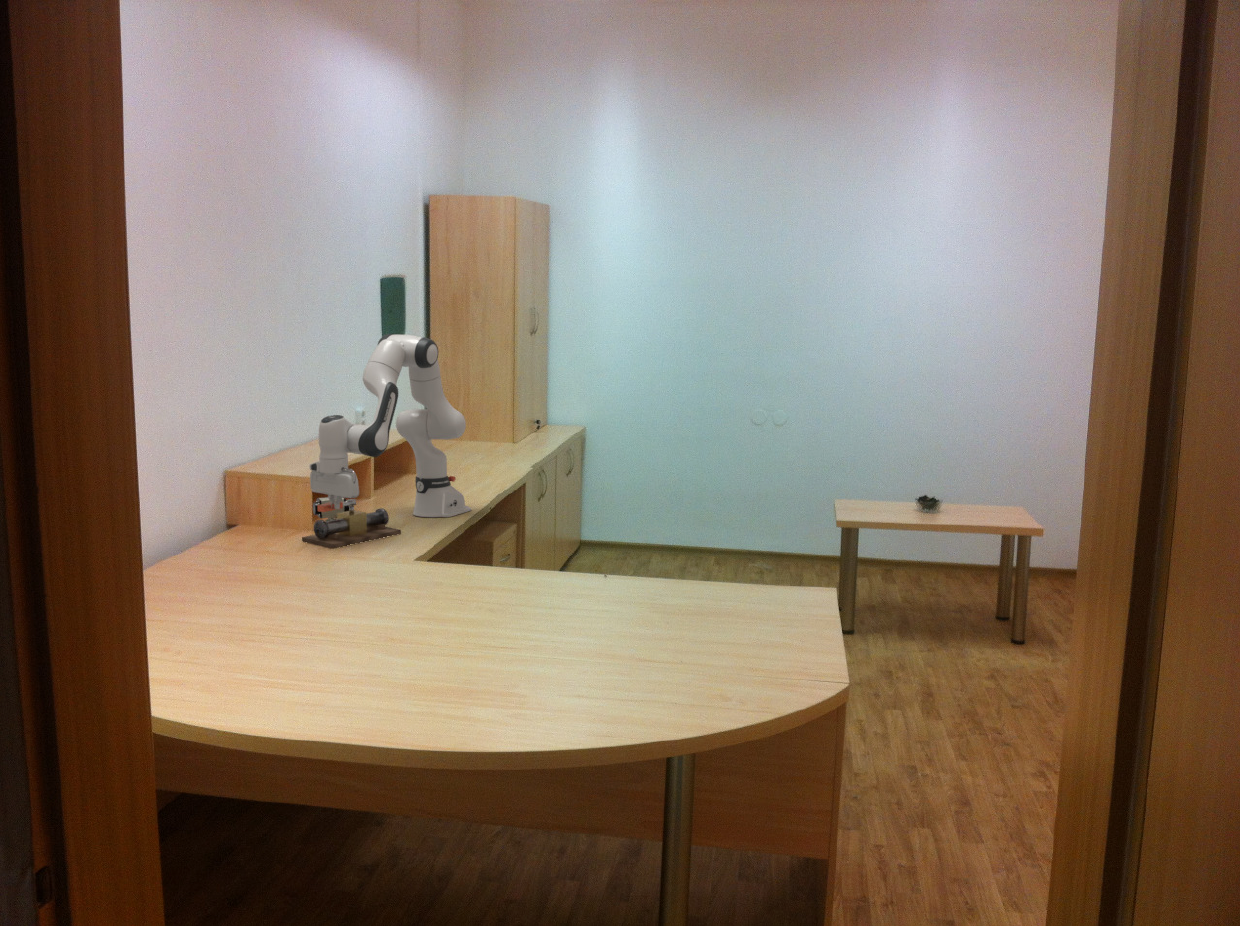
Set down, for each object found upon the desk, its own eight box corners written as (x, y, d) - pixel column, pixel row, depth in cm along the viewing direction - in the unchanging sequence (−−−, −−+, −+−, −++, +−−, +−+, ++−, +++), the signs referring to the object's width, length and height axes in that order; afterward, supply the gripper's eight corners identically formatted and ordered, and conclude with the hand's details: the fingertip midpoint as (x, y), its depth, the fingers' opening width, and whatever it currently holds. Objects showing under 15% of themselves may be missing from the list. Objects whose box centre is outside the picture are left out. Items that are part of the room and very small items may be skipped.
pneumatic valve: (350, 529, 356) (349, 495, 355) (316, 532, 351) (315, 497, 349) (347, 526, 361) (346, 492, 360) (313, 529, 356) (311, 494, 354)
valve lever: (351, 504, 344) (351, 498, 344) (358, 505, 342) (357, 499, 342) (317, 511, 332) (317, 505, 332) (323, 512, 330) (323, 506, 330)
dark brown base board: (370, 527, 359) (369, 518, 359) (401, 534, 350) (400, 525, 349) (302, 541, 337) (301, 532, 337) (333, 548, 328) (332, 539, 327)
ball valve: (376, 525, 356) (376, 499, 354) (389, 528, 352) (388, 501, 350) (313, 538, 335) (312, 510, 334) (326, 541, 331) (325, 513, 330)
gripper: (363, 468, 327) (364, 511, 329) (322, 462, 339) (323, 503, 341) (347, 470, 322) (348, 514, 324) (306, 464, 334) (307, 506, 336)
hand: (335, 508), depth 333 cm, fingers closed
